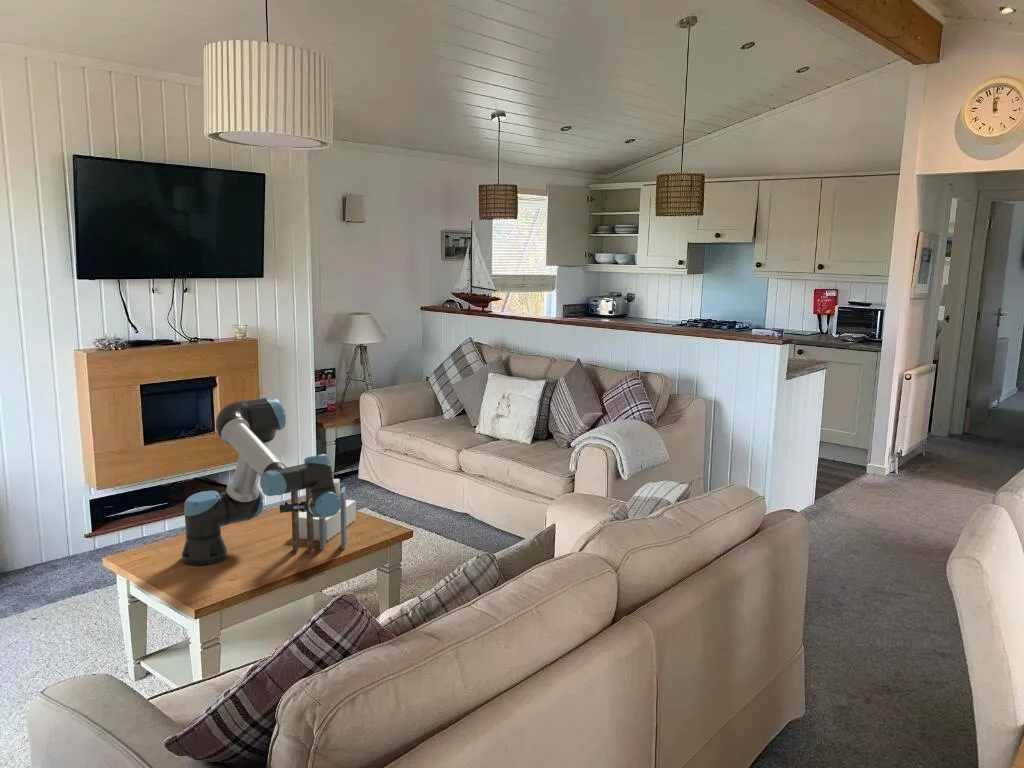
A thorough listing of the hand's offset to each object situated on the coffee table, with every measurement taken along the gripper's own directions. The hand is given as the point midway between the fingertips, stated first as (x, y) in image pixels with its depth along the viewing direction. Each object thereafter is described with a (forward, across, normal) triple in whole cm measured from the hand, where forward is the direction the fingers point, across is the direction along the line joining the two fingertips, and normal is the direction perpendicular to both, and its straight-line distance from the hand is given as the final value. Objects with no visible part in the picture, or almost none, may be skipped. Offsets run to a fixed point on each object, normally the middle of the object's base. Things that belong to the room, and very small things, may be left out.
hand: (306, 506), depth 266 cm
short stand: (+22, +14, -16) cm, 30 cm away
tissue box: (+42, +15, -10) cm, 45 cm away
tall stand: (+23, +3, -16) cm, 28 cm away
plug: (+12, +12, +2) cm, 17 cm away
